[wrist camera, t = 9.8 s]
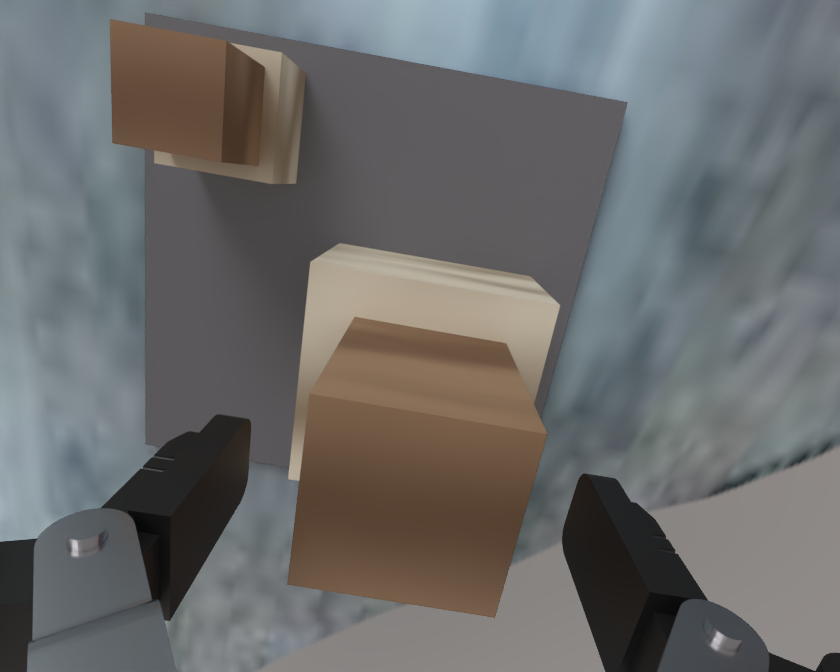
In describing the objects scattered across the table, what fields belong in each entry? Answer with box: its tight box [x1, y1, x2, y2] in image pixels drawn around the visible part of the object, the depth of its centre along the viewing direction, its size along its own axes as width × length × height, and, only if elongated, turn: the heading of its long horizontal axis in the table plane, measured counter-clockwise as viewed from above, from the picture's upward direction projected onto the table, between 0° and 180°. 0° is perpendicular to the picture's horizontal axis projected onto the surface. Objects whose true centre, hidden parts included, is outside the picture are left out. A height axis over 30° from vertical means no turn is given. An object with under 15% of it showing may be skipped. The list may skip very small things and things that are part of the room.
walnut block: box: [288, 317, 547, 618], centre depth 14 cm, size 5×5×6 cm
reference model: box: [110, 19, 306, 184], centre depth 16 cm, size 4×4×6 cm
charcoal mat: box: [145, 13, 628, 468], centre depth 21 cm, size 18×18×1 cm
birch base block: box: [288, 243, 560, 481], centre depth 19 cm, size 8×8×5 cm
